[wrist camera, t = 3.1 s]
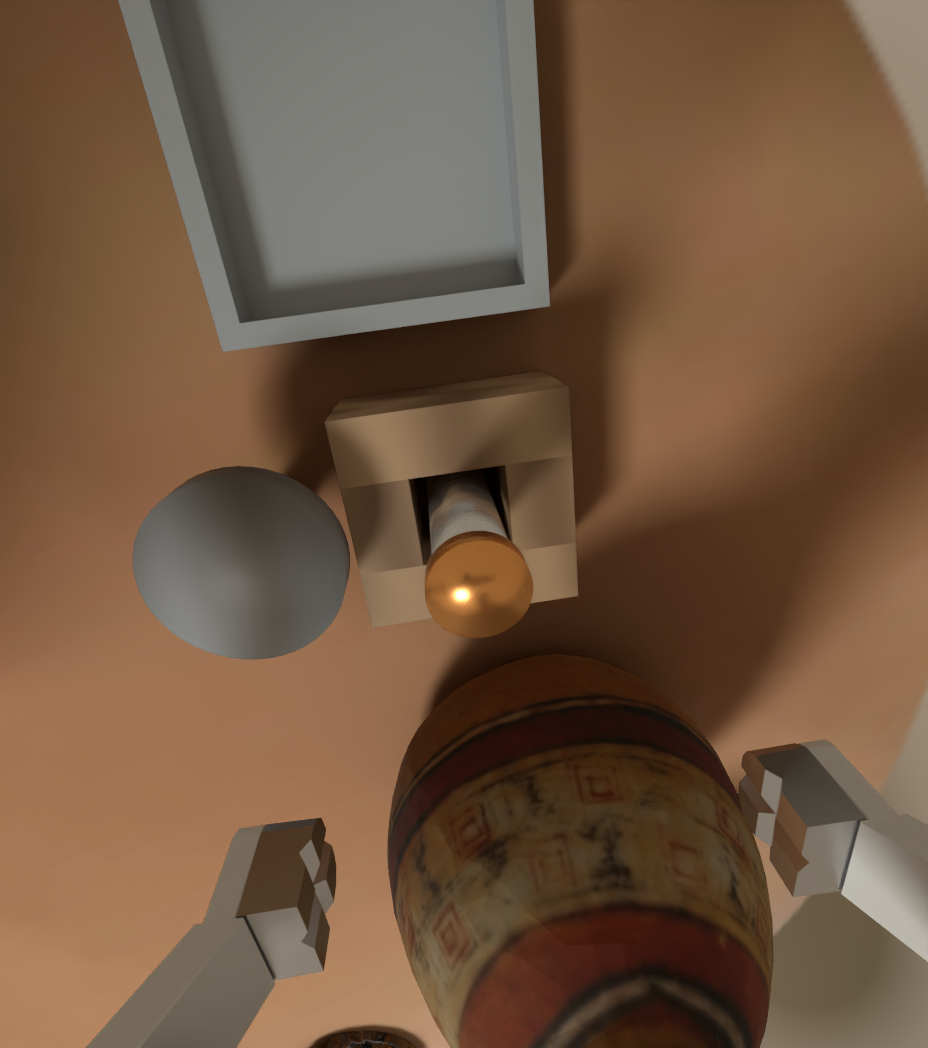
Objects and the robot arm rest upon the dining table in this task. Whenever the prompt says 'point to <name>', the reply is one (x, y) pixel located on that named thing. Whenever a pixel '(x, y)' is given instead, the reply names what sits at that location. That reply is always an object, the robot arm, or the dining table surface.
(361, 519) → the block
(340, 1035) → the burger
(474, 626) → the pin
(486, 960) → the ceramic pitcher
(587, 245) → the dining table surface
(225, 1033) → the robot arm
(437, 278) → the tray
